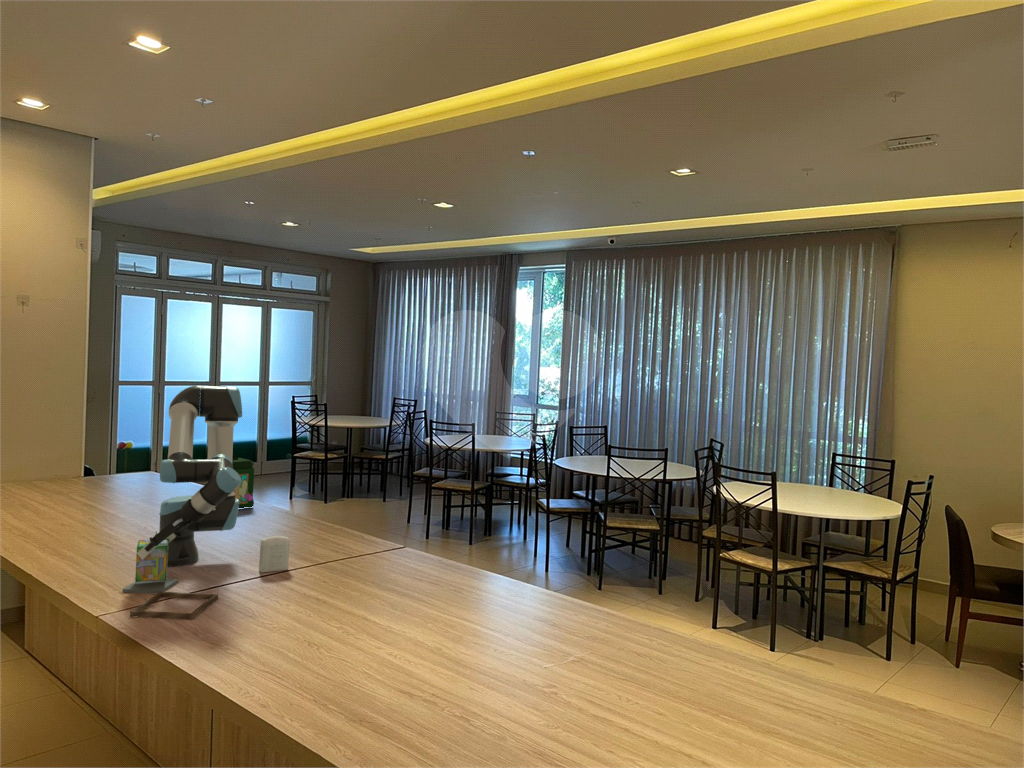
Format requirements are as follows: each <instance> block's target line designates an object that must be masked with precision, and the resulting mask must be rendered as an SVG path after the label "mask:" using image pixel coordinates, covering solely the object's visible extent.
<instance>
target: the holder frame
mask: <svg viewBox="0 0 1024 768" xmlns="http://www.w3.org/2000/svg"><path fill="white" fill-rule="evenodd" d="M162 598H166V599H167V598H168V599H169V598H170V599H184V600H185V599H186V600H187V599H189V600H190V599H191V600H206V601H204V602H203V603H201V604H200V605H199V606H198V607H196V608H195V609H194V610H193V611H191V612H179V611H178V612H176V611H175V612H174V611H155V610H152V611H151V610H147V609H148V608H149V607H150V606H152V605H153V604H155V603H156V602H158V601H160V600H161V599H162ZM207 599H208V600H207ZM218 599H219V594H218V593H201V592H183V591H182V592H181V591H180V592H179V591H164V592H159V593H158V594H154V596H152V597H150V598H149V599H147V600H145V601H144V602H142V603H141V604H139V605H138V606H136V607H135V608H134V609H131V610H130V613H129V616H137V617H136V618H147V617H152V618H151V619H174V620H175V619H176V620H192V621H193V620H194V619H195V618H197V616H200V614H202V613H203V612H204V611H205V610H206V609H208V608H209V607H210V606H211V605H212V604H214V603H216V601H218ZM213 602H214V603H213ZM208 606H209V607H208ZM207 607H208V608H207Z"/></svg>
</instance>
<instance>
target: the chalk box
mask: <svg viewBox="0 0 1024 768" xmlns="http://www.w3.org/2000/svg"><path fill="white" fill-rule="evenodd" d="M156 534H158V531H157V530H156V531H155V533H154V536H155V535H156ZM149 542H150V539H139V540H138V541H137V546H136V561H135V578H134V582H143V581H158V580H166V579H168V577H167V575H168V566H167V563H168V544H169V539H165V540H164V541H162V542H161V543H160V544H159V545H158V546H157V547H156V548H155V549H154V550H153V551H152V552H151V553H150V554H149V555H148V556H146V557H145V558H144V559H143V560H142V559H141V558H140V557H139V556H138V554H137V553H138V552H139V551H140V550H141V549H142V548H143V547H144V546H145V545H146V544H147V543H149Z"/></svg>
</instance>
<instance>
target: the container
mask: <svg viewBox="0 0 1024 768" xmlns="http://www.w3.org/2000/svg"><path fill="white" fill-rule="evenodd" d="M254 463H255V462H254V461H253V460H250V459H247V458H242V457H236V456H234V457H233V456H232V465H233V469H234V470H235V471H236V472H237V473H238V474H239V477H240V478H241V483H240V485H239V486H238V487H237V488H236V489H235V490H234V491H233V492H234V493H235V499H236V498H237V499H239V508H244V507H252V506H253V507H254V505H255V501H254V483H255V482H254V478H255V467H253V466H254Z"/></svg>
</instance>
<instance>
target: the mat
mask: <svg viewBox="0 0 1024 768" xmlns="http://www.w3.org/2000/svg"><path fill="white" fill-rule="evenodd" d="M178 583H179V578H177V579H176V578H166V580H158V581H143V582H135V581H134V582H133V583H130V584H129V585H127V586H125V587H124V588H122V593H128V594H129V593H134V594H149V595H150V594H152V595H153V594H154V595H156V594H158V593H159V592H167V590H169V589H170V588H172V587H173V586H175V585H177V584H178Z"/></svg>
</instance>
